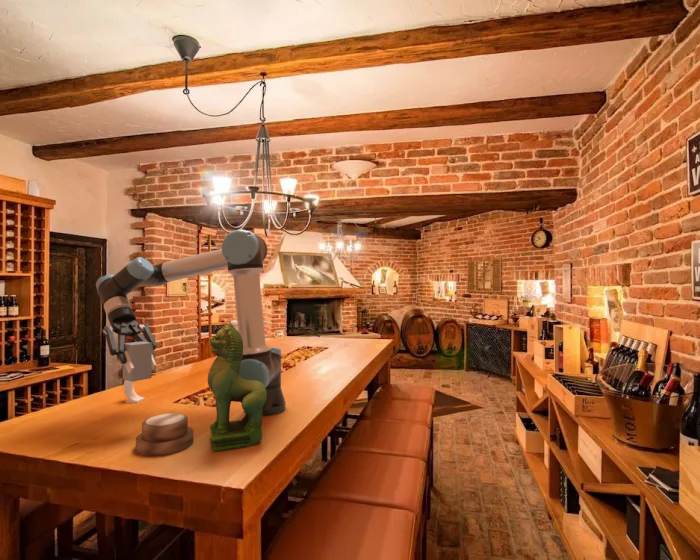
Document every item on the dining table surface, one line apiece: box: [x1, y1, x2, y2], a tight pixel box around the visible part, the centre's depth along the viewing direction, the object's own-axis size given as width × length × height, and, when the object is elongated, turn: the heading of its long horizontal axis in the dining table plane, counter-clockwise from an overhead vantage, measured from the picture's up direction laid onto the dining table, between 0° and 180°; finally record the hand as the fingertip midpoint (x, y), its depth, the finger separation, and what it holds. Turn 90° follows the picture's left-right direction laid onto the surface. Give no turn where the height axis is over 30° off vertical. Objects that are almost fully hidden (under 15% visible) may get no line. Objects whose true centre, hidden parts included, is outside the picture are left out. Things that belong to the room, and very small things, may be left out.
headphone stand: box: [122, 379, 146, 404], centre depth 157 cm, size 5×6×12 cm
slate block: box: [122, 341, 153, 383], centre depth 123 cm, size 6×6×11 cm
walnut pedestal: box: [135, 413, 194, 457], centre depth 114 cm, size 15×15×7 cm
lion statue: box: [207, 322, 267, 452], centre depth 117 cm, size 14×17×35 cm
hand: (142, 368), depth 121 cm, fingers closed on slate block, 6 cm apart
